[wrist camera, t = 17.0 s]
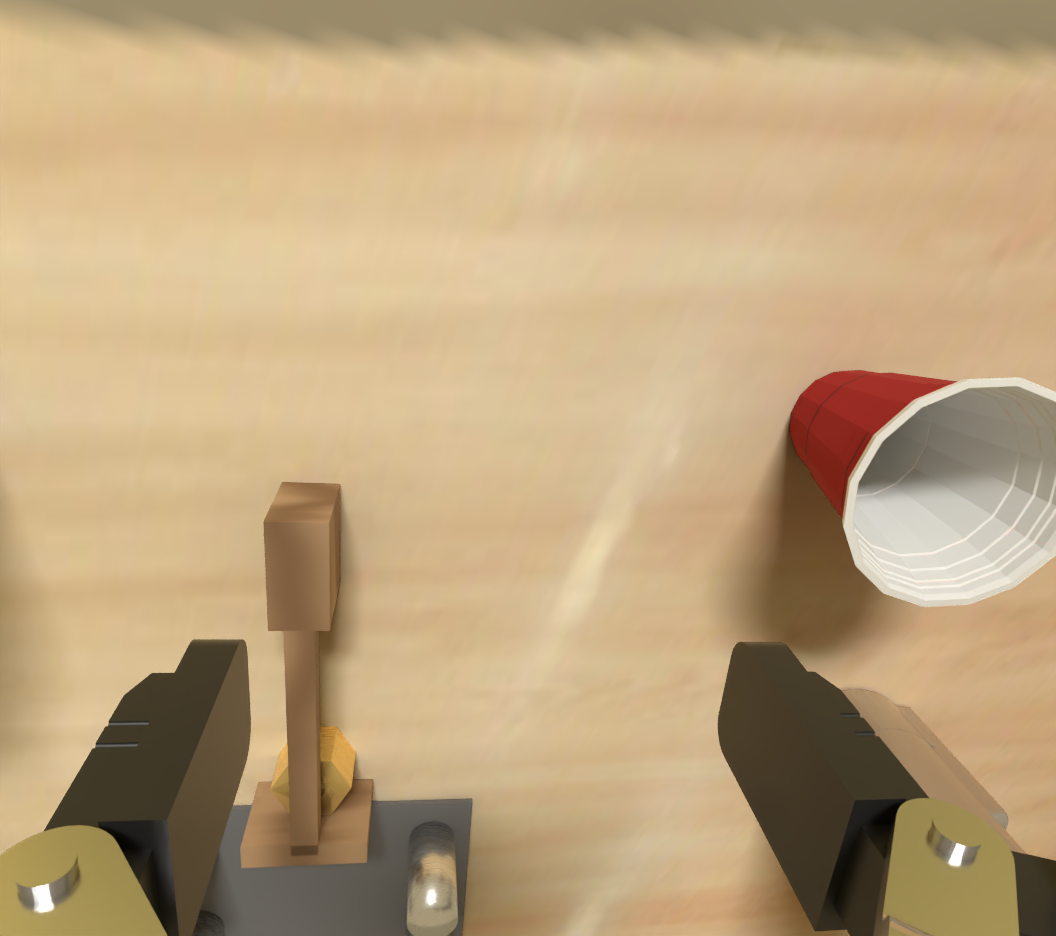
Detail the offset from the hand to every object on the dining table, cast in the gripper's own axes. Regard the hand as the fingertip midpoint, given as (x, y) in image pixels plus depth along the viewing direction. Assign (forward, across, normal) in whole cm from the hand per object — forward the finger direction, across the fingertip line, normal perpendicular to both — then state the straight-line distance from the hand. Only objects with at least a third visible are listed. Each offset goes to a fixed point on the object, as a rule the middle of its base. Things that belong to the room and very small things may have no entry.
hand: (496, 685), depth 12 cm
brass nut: (+28, +7, +26) cm, 39 cm away
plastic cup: (+28, -22, +3) cm, 36 cm away
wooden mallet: (+28, +7, +19) cm, 35 cm away
